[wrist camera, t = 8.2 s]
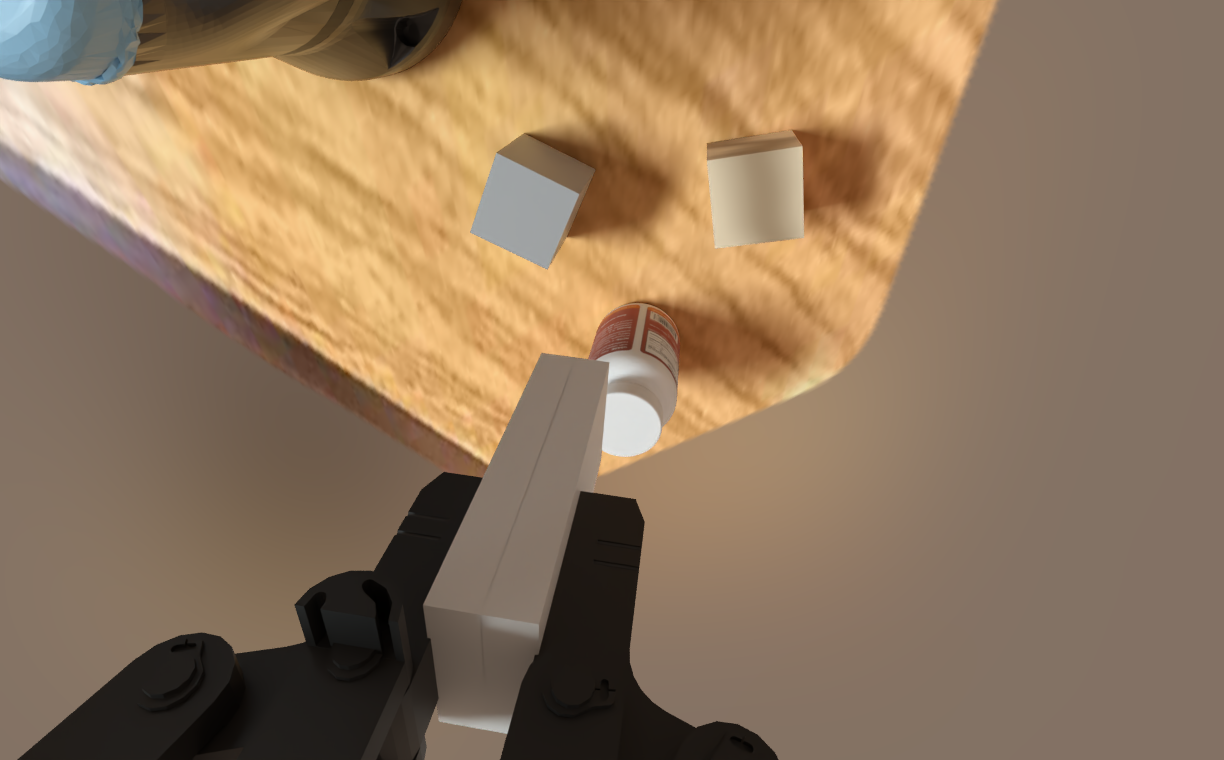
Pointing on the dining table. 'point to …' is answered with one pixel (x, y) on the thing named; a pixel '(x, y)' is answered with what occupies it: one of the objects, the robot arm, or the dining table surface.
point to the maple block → (756, 189)
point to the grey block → (531, 199)
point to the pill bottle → (637, 376)
